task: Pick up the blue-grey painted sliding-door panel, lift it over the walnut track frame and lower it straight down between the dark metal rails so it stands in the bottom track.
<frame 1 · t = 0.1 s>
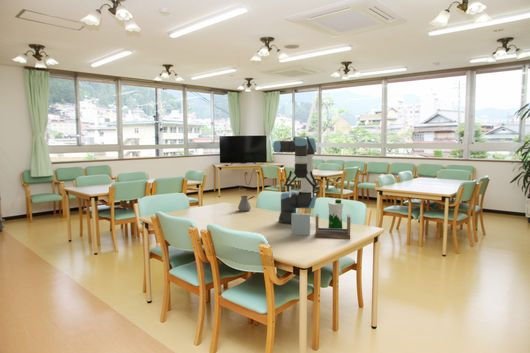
hand: (300, 197, 225), 28 cm above the table, fingers open, 13 cm apart
coffee pot: (247, 211, 316), on the table
track frame: (332, 235, 240), on the table
door panel: (300, 234, 243), on the table
milk carton: (335, 228, 259), on the table
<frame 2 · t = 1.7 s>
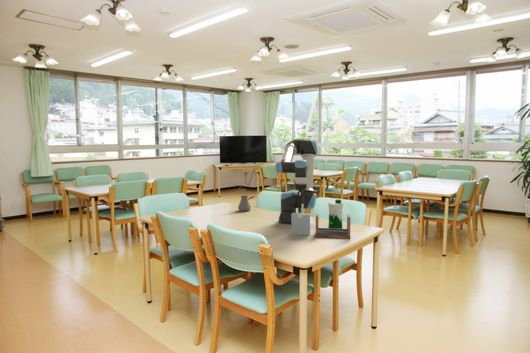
hand: (300, 215, 241), 13 cm above the table, fingers open, 13 cm apart
nothing on the table moved.
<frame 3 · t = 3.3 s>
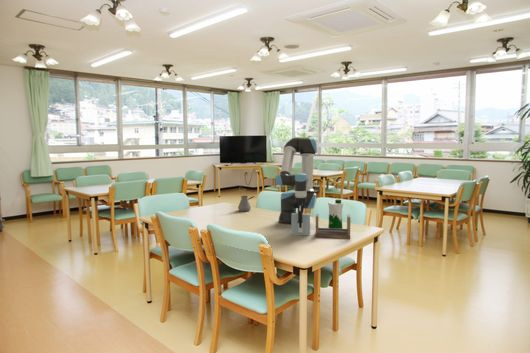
hand: (300, 231, 243), 2 cm above the table, fingers closed on door panel, 3 cm apart
door panel: (300, 234, 243), on the table, touching gripper
everything else where it was.
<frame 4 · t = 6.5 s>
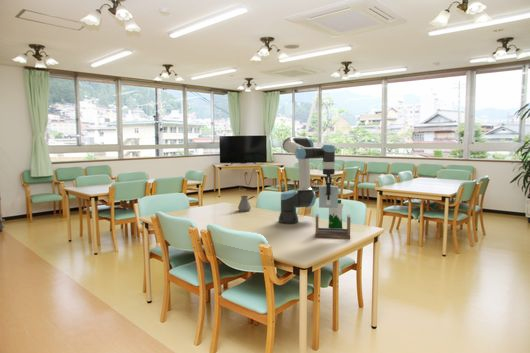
hand: (328, 204, 237), 21 cm above the table, fingers closed on door panel, 3 cm apart
door panel: (328, 207, 237), point 19 cm above the table, touching gripper
everything else where it was.
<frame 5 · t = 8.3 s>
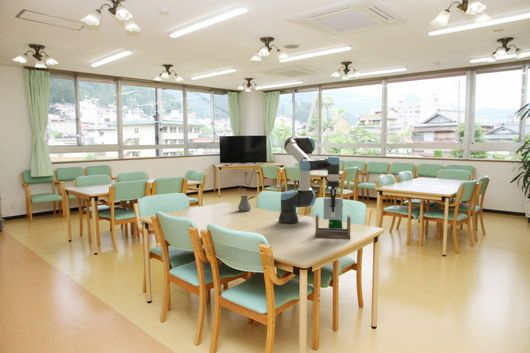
hand: (333, 216, 238), 13 cm above the table, fingers closed on door panel, 3 cm apart
door panel: (332, 219, 238), point 11 cm above the table, touching gripper
everything else where it was.
when the fingers open (5 cm above the table, at t = 9.9 s): door panel drops 1 cm, resting on track frame.
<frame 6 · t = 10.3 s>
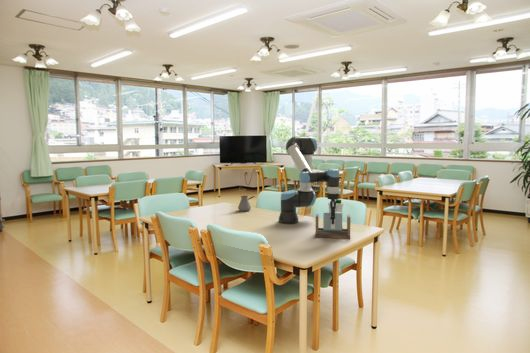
hand: (332, 226, 239), 6 cm above the table, fingers open, 8 cm apart
door panel: (332, 233, 239), point 1 cm above the table, touching track frame
everything else where it was.
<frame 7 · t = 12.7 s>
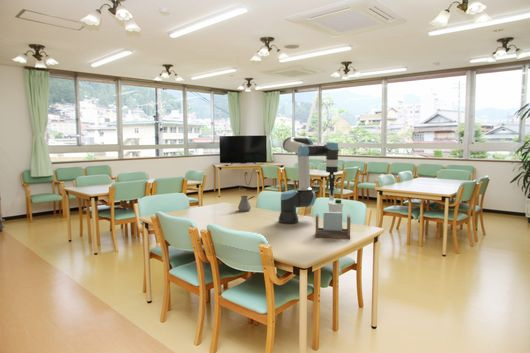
hand: (331, 198, 238), 25 cm above the table, fingers open, 13 cm apart
nothing on the table moved.
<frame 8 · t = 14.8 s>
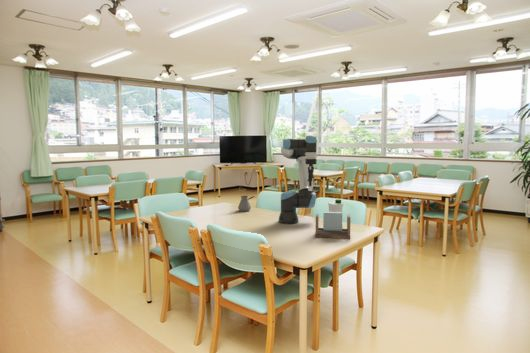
hand: (310, 189, 250), 29 cm above the table, fingers open, 13 cm apart
nothing on the table moved.
at the end: door panel inside the target area on the track frame (0.0 cm from its centre), point 1.5 cm above the track frame's base; door panel tilted 0°; the gripper is holding nothing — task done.
